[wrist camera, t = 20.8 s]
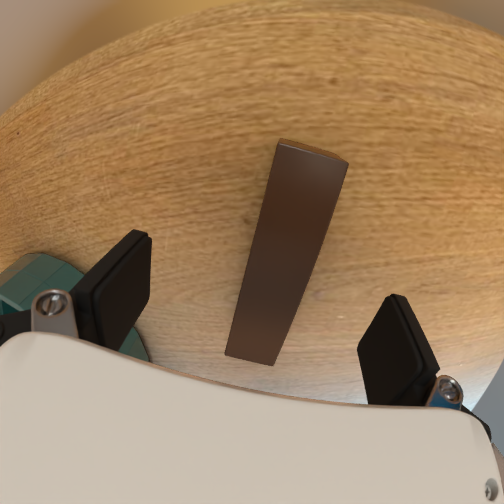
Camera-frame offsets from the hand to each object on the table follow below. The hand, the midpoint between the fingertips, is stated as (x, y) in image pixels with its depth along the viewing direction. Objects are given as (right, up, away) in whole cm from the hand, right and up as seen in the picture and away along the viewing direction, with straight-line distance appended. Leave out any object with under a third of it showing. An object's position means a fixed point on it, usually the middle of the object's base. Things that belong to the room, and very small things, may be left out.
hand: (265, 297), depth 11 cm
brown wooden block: (+1, +2, +6) cm, 6 cm away
